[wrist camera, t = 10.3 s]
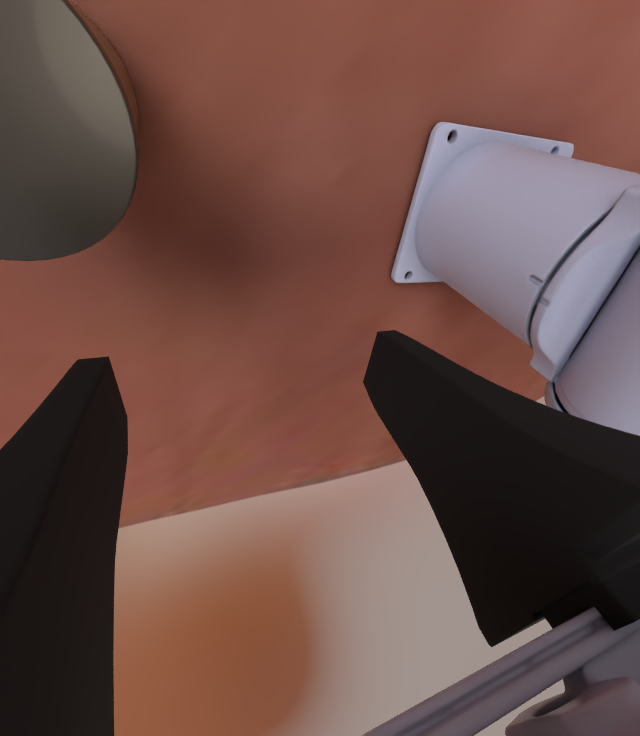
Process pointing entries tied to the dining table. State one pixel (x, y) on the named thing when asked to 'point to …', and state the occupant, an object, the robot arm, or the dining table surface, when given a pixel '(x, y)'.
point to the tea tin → (61, 132)
